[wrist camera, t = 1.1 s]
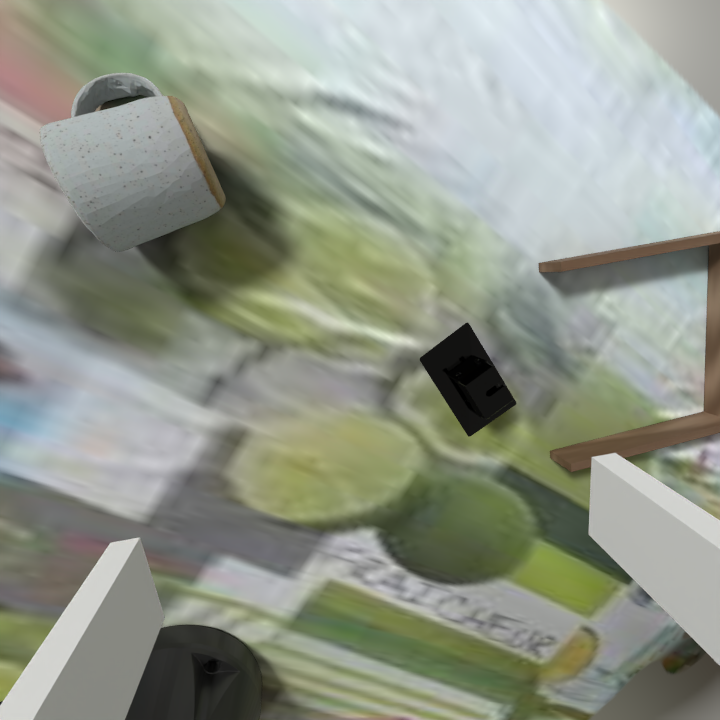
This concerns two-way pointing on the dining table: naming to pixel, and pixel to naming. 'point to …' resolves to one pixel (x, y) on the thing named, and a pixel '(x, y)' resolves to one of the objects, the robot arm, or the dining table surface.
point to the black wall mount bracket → (468, 380)
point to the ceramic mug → (131, 163)
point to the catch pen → (716, 395)
